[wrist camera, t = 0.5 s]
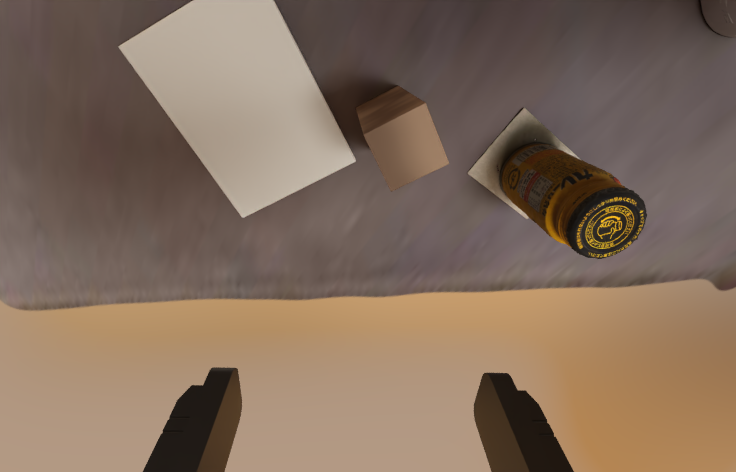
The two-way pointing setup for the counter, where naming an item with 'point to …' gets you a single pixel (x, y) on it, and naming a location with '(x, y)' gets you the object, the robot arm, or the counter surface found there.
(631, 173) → the counter surface
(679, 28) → the counter surface
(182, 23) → the mat
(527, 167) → the condiment
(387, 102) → the block
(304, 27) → the counter surface
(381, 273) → the counter surface
